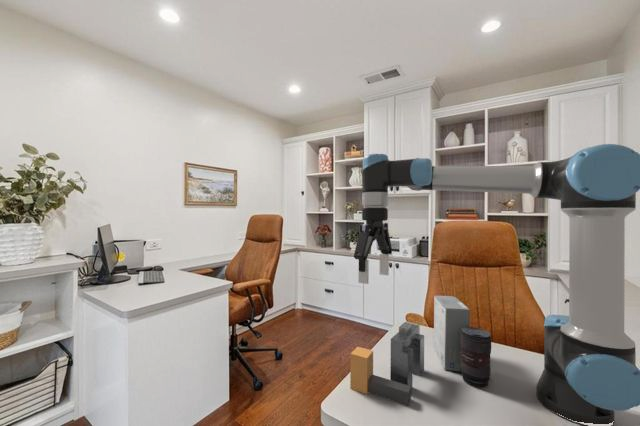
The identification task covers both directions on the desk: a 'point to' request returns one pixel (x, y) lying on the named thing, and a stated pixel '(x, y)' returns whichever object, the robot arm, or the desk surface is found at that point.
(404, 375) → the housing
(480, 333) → the camera lens
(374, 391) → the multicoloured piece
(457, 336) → the hard drive box
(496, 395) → the desk surface
